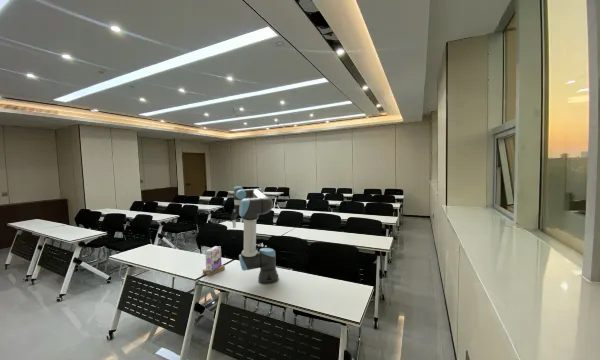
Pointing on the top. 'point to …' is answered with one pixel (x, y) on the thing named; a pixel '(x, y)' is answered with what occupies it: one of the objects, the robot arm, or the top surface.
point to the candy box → (213, 258)
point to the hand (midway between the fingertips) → (239, 228)
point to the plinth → (214, 270)
